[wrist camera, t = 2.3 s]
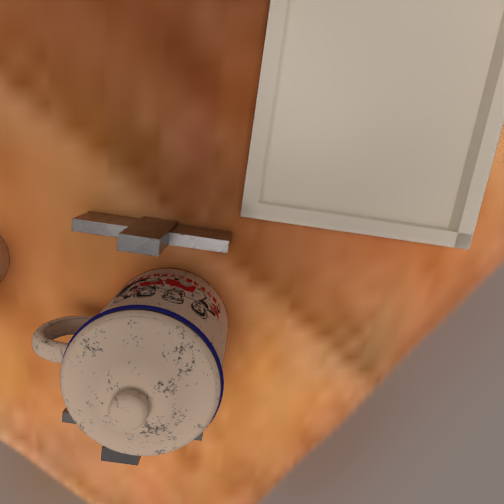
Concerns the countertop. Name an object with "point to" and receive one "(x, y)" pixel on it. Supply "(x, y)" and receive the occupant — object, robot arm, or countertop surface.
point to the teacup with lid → (143, 363)
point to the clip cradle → (150, 243)
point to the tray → (378, 117)
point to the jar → (3, 259)
